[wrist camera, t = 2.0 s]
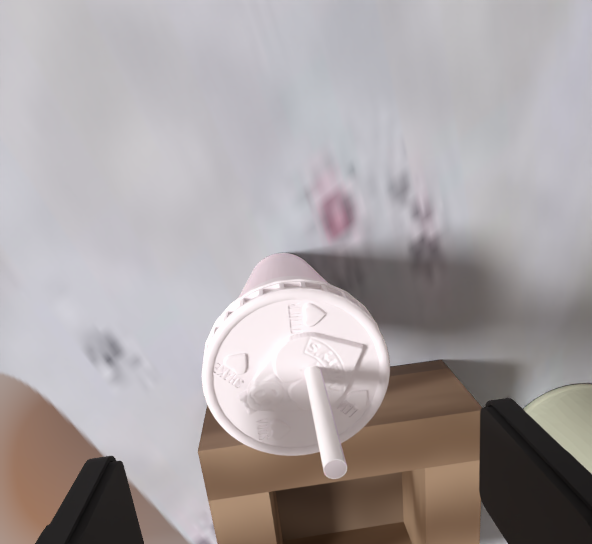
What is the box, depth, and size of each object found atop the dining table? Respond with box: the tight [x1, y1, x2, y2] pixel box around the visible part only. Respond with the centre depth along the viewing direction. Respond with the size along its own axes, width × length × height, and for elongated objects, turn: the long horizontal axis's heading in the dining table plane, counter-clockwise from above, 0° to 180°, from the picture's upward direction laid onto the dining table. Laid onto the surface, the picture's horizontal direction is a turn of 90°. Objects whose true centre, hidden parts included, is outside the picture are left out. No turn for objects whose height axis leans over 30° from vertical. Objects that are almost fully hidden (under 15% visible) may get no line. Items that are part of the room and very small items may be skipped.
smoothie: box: [202, 253, 390, 479], centre depth 16 cm, size 6×6×14 cm
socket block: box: [198, 360, 482, 544], centre depth 25 cm, size 14×14×5 cm
